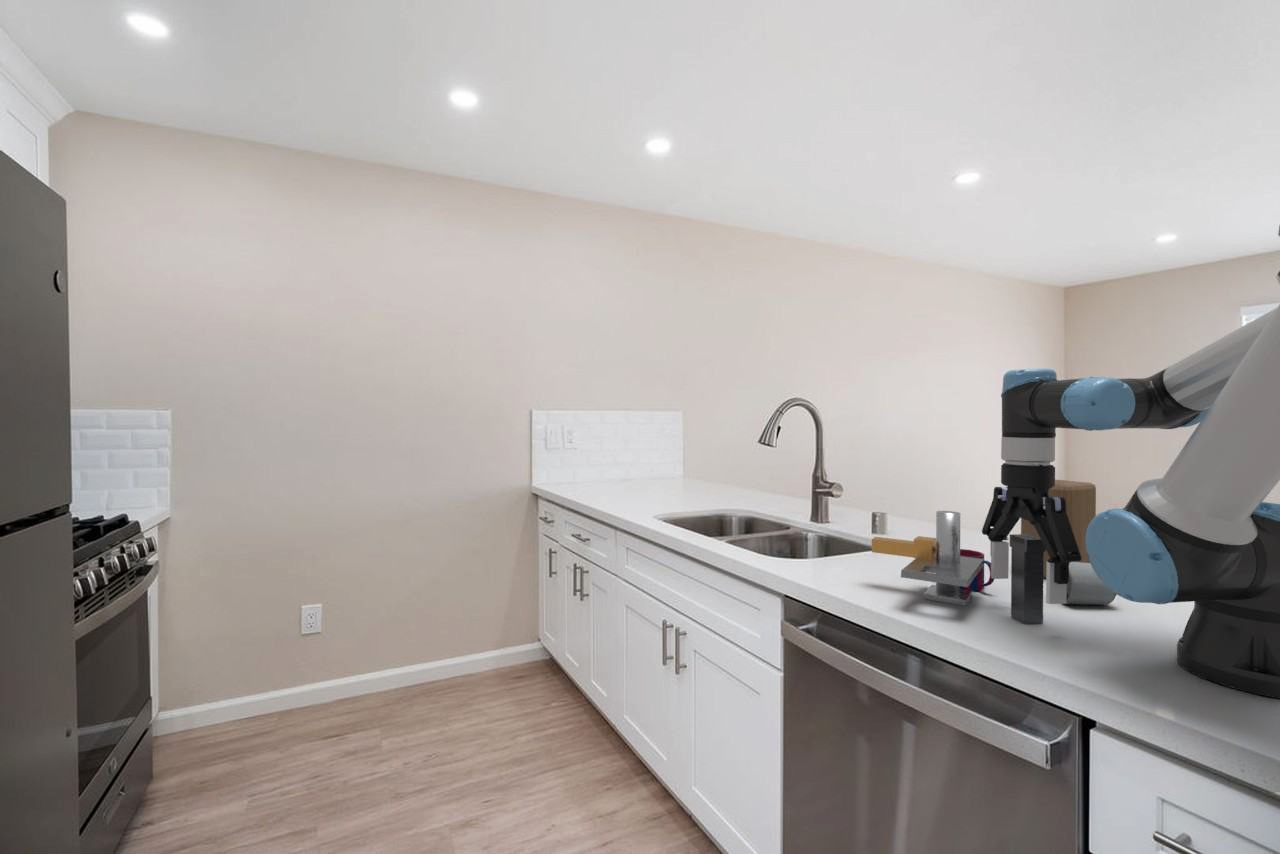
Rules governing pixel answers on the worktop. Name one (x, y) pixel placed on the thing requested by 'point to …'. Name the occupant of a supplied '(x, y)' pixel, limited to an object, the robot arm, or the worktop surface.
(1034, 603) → the wedge pin
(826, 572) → the worktop surface
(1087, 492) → the block
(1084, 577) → the grey cylinder
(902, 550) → the grey plate with post
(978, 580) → the cup
